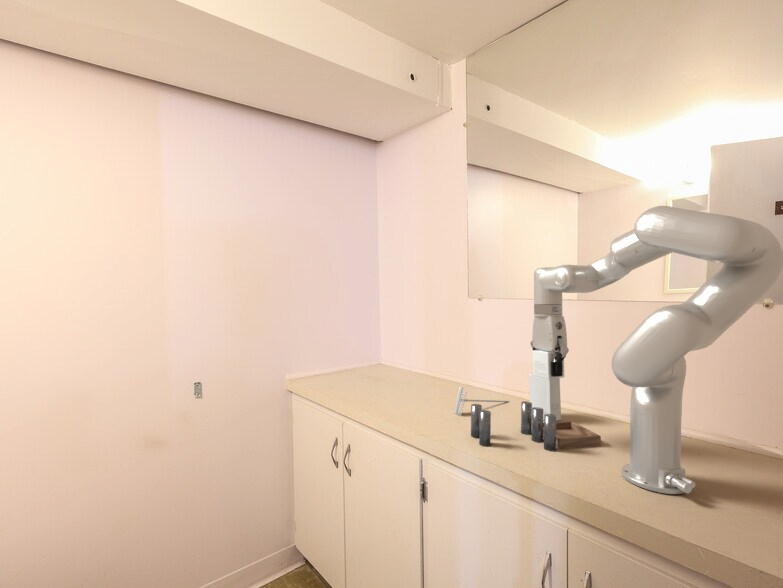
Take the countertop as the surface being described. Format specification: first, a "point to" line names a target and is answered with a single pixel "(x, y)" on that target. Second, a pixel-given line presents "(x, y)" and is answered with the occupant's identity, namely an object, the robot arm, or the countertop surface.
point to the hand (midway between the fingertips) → (548, 373)
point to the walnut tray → (574, 435)
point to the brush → (467, 401)
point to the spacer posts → (529, 425)
